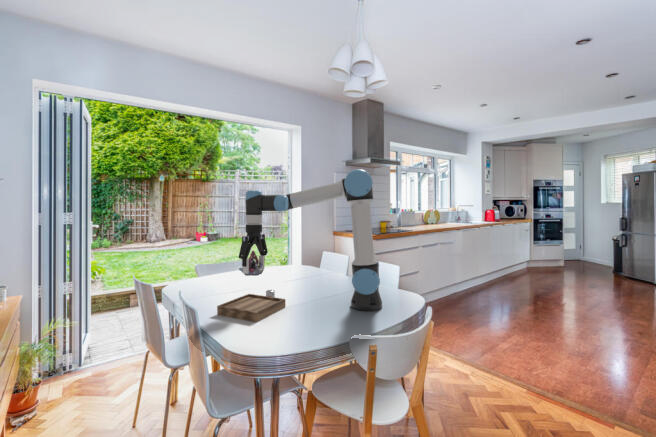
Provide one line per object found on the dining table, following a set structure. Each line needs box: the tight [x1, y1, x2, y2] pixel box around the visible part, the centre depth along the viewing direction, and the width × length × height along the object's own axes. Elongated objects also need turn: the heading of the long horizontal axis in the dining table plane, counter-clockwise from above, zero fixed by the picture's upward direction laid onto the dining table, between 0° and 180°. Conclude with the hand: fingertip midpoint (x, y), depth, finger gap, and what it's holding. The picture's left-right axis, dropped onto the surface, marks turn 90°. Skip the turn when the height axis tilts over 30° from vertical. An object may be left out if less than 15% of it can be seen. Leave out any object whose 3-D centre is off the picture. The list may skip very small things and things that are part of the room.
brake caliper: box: [238, 250, 265, 277], centre depth 151 cm, size 11×11×12 cm
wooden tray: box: [216, 293, 286, 323], centre depth 151 cm, size 22×22×4 cm
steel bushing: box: [265, 289, 276, 298], centre depth 167 cm, size 4×4×5 cm
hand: (253, 271), depth 150 cm, fingers closed on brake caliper, 11 cm apart
